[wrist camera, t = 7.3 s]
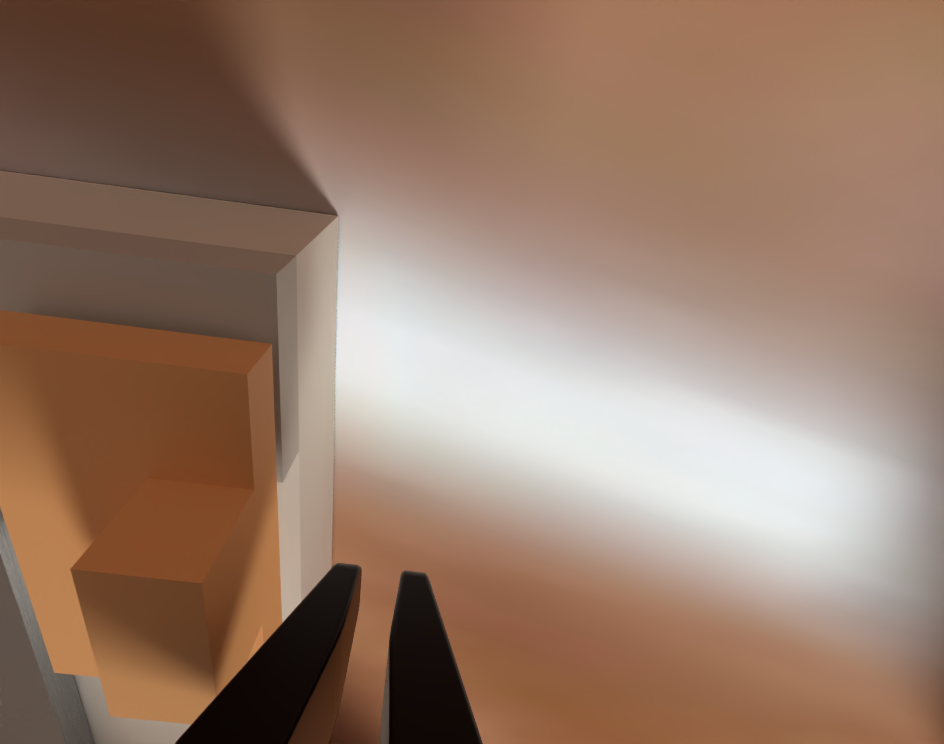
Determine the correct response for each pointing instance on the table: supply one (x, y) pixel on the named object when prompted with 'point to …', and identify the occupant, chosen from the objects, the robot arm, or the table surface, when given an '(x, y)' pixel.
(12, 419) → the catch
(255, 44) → the table surface
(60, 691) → the grey flat bar
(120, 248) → the mount block
